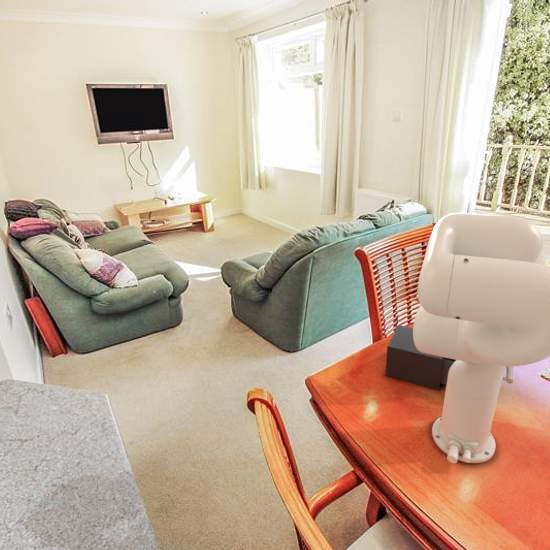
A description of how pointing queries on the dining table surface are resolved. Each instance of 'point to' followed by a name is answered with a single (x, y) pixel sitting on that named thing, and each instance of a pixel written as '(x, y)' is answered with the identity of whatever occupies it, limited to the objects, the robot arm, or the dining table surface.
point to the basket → (448, 362)
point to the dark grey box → (412, 361)
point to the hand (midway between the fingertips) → (469, 353)
